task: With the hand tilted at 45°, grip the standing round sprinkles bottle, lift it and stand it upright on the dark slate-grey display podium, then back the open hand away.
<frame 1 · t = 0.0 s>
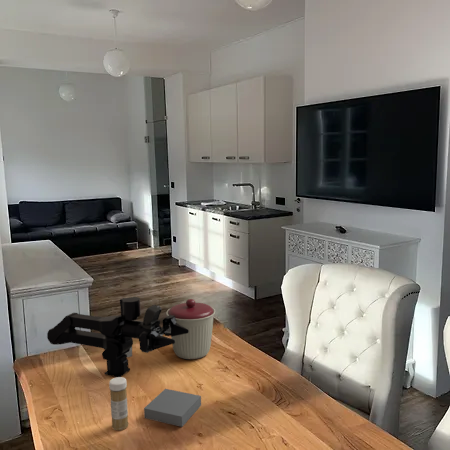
hand: (181, 336, 149), 17 cm above the table, tool horizontal, fingers open, 9 cm apart
canister: (191, 354, 175), on the table
podium: (173, 411, 136), on the table
sprinkles bottle: (120, 427, 128), on the table
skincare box: (123, 356, 174), on the table
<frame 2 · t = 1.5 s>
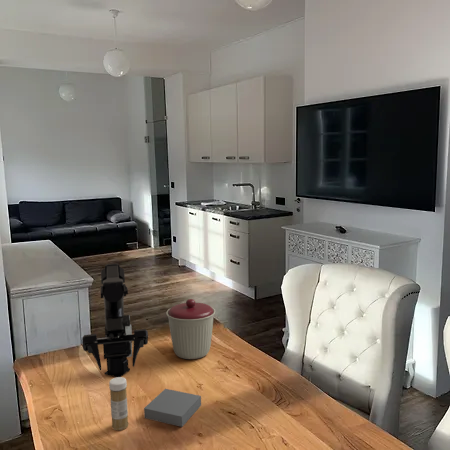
hand: (117, 367, 134), 13 cm above the table, tool tilted 45°, fingers open, 9 cm apart
nothing on the table moved.
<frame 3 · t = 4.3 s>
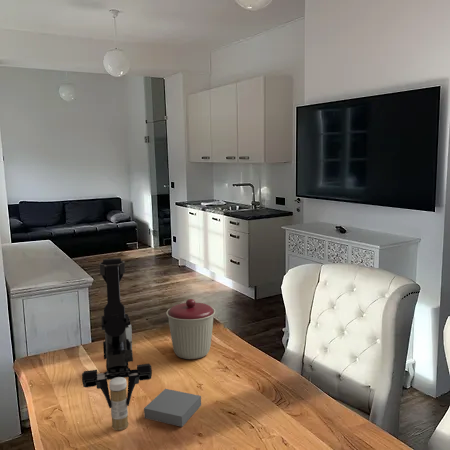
hand: (119, 406, 126), 7 cm above the table, tool tilted 45°, fingers closed on sprinkles bottle, 4 cm apart
sprinkles bottle: (120, 427, 128), on the table, touching gripper
everything else where it was.
when the fingers open (11 cm above the table, at t = 7.6 s): sprinkles bottle drops 1 cm, resting on podium.
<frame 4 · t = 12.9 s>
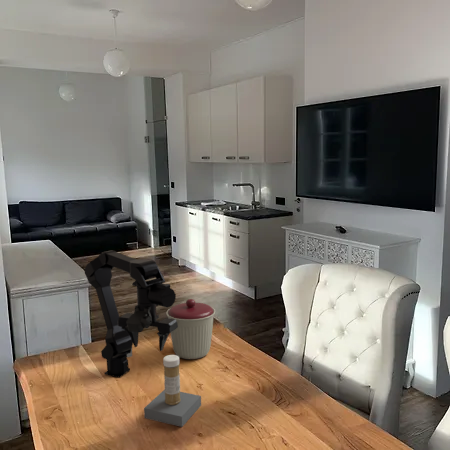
hand: (148, 348, 148), 13 cm above the table, tool pointing down, fingers open, 9 cm apart
sprinkles bottle: (172, 402, 135), point 3 cm above the table, touching podium
everything else where it was.
at the end: sprinkles bottle inside the target area on the podium (0.1 cm from its centre), point 2.8 cm above the podium's base; sprinkles bottle tilted 0°; the gripper is holding nothing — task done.
